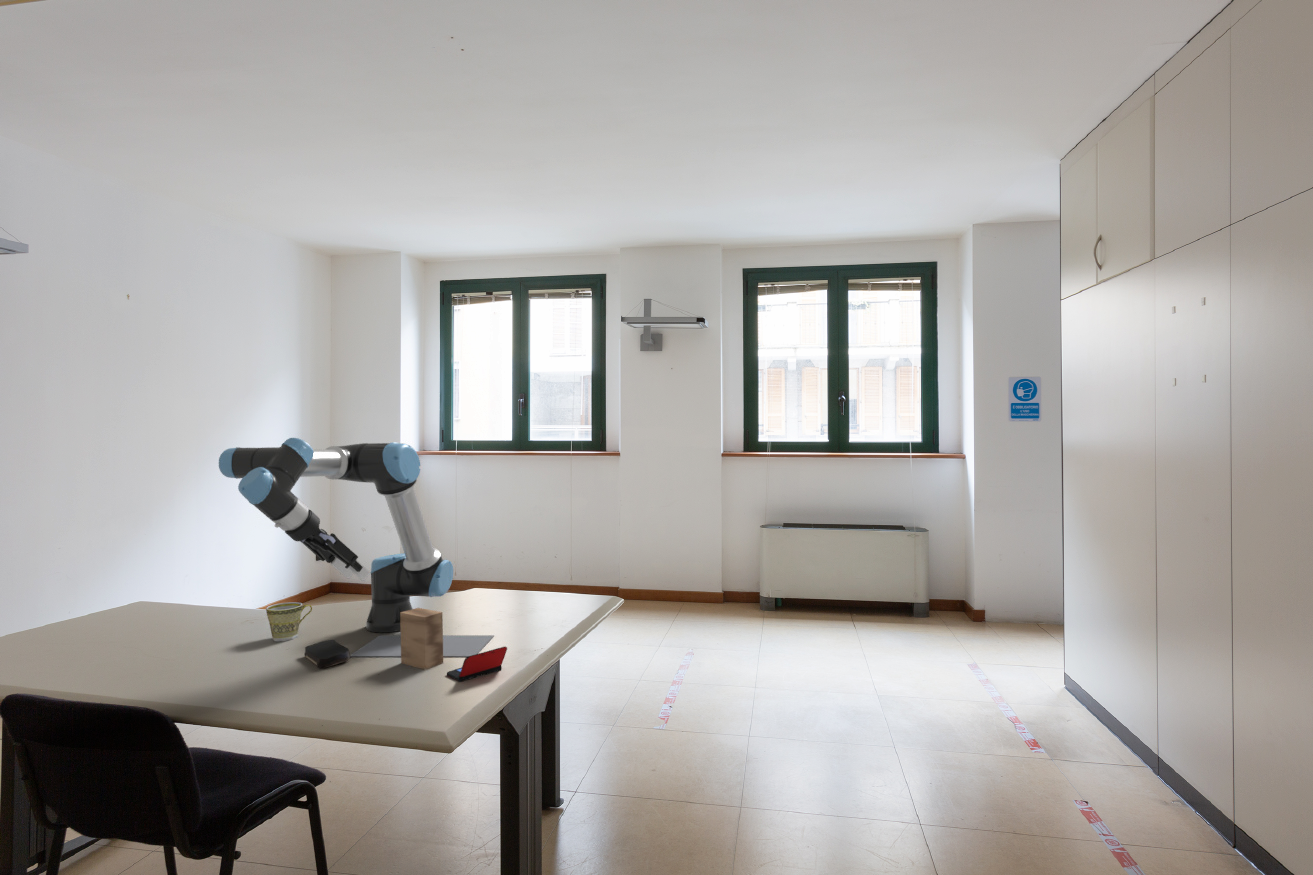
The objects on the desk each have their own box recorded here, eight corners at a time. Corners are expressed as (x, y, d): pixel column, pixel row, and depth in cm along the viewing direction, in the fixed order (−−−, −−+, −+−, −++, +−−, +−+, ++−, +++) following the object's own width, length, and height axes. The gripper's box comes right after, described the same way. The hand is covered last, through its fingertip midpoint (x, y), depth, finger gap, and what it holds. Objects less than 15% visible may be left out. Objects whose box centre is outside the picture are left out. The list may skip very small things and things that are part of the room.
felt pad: (379, 636, 224) (379, 635, 224) (494, 636, 222) (494, 635, 222) (349, 656, 204) (349, 655, 204) (474, 657, 202) (474, 656, 202)
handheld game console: (487, 664, 196) (486, 637, 196) (509, 674, 189) (508, 645, 189) (444, 676, 188) (444, 647, 188) (466, 686, 180) (465, 657, 180)
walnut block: (419, 657, 203) (418, 607, 203) (443, 663, 198) (442, 612, 197) (401, 663, 198) (400, 612, 198) (425, 669, 192) (424, 617, 192)
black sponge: (352, 664, 199) (352, 650, 199) (319, 671, 193) (319, 657, 193) (333, 650, 211) (332, 638, 211) (302, 657, 205) (301, 644, 205)
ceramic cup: (271, 645, 216) (270, 611, 216) (263, 638, 224) (262, 606, 224) (317, 636, 225) (316, 604, 225) (307, 629, 232) (307, 598, 232)
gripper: (264, 529, 176) (328, 583, 190) (308, 535, 166) (372, 591, 180) (285, 506, 180) (346, 560, 194) (329, 509, 170) (390, 567, 184)
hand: (358, 575), depth 187 cm, fingers open, 6 cm apart
